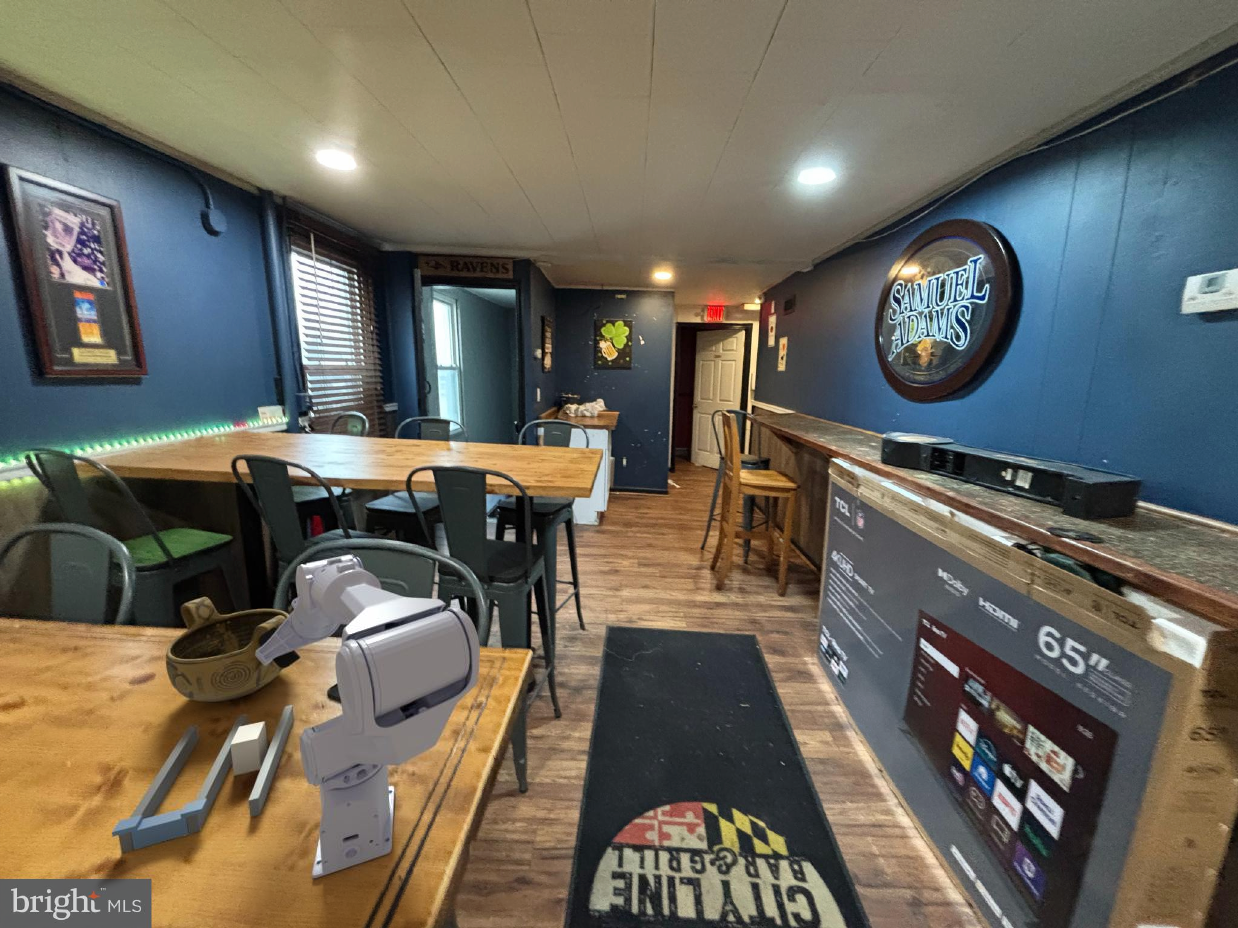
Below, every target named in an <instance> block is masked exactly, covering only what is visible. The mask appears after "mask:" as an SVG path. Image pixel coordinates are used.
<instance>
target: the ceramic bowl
mask: <svg viewBox="0 0 1238 928" xmlns="http://www.w3.org/2000/svg"><path fill="white" fill-rule="evenodd" d="M180 613H181V617H182V619H183V621H184V623H185V626H186V627H187V630H186V631H185V632H183V633H182V634H180V635H178V636H177V637H176V638H174V639H173V640H172V641H171V642H170V644H169V645H168V646H167V648H166V654H165V668H166V673H167V676H168V679H169V681H170V684H171V686H173V688H174V689H175V690H176V691H177V692H178V693H179V694H180V695H181V696H183V697H184V698H186V699H187V698H188V699H190V700H193V701H198V702H206V703H208V702H209V703H212V702H213V703H214V702H223V701H231V700H234V699H238V698H241V697H245V696H247V695H250V694H253V693H254V692H256V691H258V690H259V689H261V688H262V687H264V686H266V685H267V684H269V683H270V682H272V681H273V680H274V679H275V678H276V677H277V676H278V675H279V674H280V673H281V672H282V671H283V670H284V669H282V668H280V667H278V666H277V664H276V663H275V662H274V661H273V660H272V661H271V662H270V663H269V664H267V665H266V666H264V665H263V664H262V663H261V661H260V660H259V659H258V658H257V657H256V656H255V653H256V650H258V649H259V648H260V646H259V644H258V640H259V637H260V636H261V635H262V634H264V633H265V632H267V631H268V630H270V629H271V628H273V627H275V628H276V629H277V630H278V628H279V627H280V626H281V625H282V624H283V622H284V621H285V620H286V619H287V618H288V616H289V615H290V614H289V613H288V612H286V611H283V610H279V609H273V608H257V609H249V610H244V611H242V610H241V611H238V612H233V613H230V614H220V613H219V612H218V611H217V609H216V608H215V606H214V604H213V601H211V599H209V597H206V596H203V597H200V598H196V599H193V600H190V601H188V602H184V604H182V605H181V606H180Z"/></svg>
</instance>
